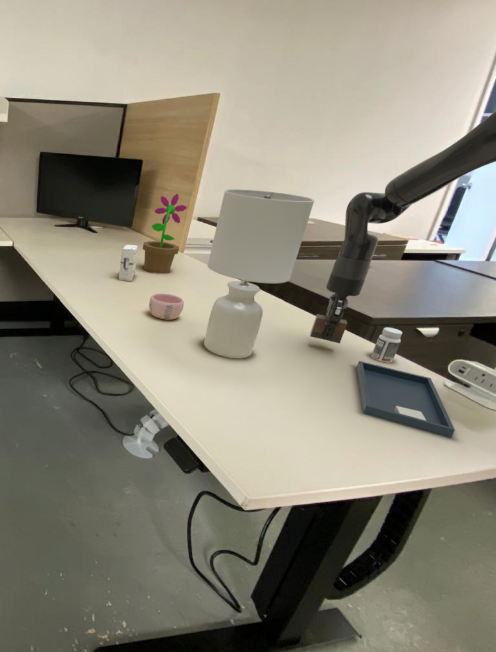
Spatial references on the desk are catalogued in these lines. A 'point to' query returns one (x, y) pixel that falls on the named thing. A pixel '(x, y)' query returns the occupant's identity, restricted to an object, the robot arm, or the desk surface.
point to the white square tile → (409, 412)
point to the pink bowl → (165, 306)
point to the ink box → (128, 262)
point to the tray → (402, 398)
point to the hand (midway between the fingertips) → (326, 335)
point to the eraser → (320, 325)
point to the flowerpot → (162, 252)
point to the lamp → (251, 261)
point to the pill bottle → (387, 345)
